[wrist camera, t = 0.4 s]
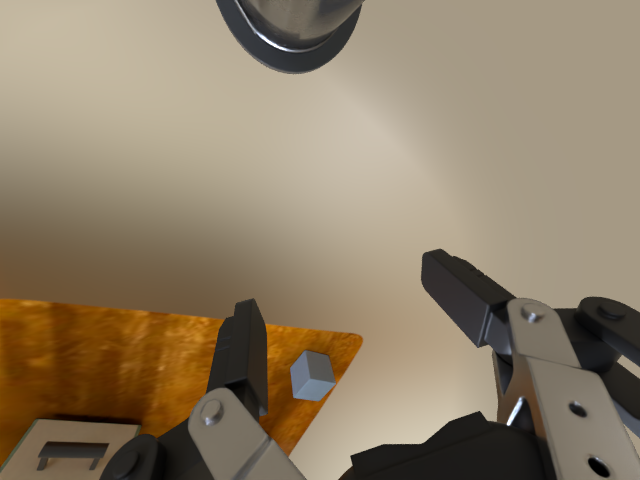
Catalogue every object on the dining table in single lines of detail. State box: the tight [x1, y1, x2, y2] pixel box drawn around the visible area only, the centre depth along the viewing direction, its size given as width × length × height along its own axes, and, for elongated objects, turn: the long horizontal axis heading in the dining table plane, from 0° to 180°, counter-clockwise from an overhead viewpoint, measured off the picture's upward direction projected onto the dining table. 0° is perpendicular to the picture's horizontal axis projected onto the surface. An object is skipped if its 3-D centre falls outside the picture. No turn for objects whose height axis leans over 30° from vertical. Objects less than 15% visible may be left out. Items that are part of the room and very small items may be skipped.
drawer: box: [0, 419, 138, 480], centre depth 32 cm, size 20×11×8 cm, turn 146°
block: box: [290, 350, 336, 401], centre depth 36 cm, size 5×5×5 cm
